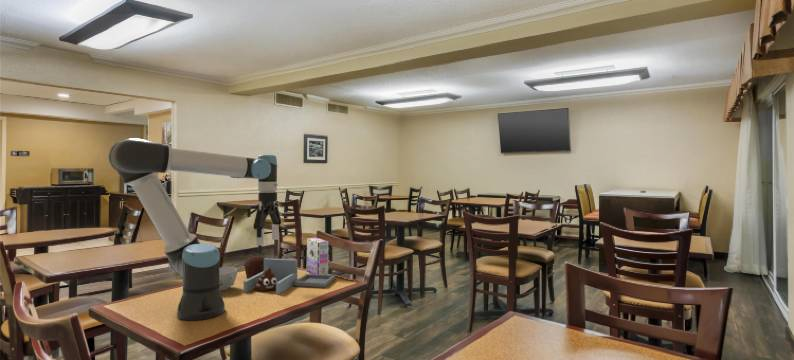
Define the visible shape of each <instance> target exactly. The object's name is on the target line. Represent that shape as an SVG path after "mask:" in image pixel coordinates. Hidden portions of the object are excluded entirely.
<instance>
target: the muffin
mask: <svg viewBox="0 0 794 360" xmlns="http://www.w3.org/2000/svg"><path fill="white" fill-rule="evenodd" d="M265 258H266V257H265V256H263V255H257V254H256V255H251V256H249V257H248V258H247V259H246V260H245V262H244V263H243V266H244V270H245V271H244V272H245V275H246V280H247V279H249V278H251V277H253V276H255V275H257V274H259V273H261V272H263V271H264V259H265Z"/></svg>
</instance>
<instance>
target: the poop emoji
mask: <svg viewBox="0 0 794 360" xmlns="http://www.w3.org/2000/svg"><path fill="white" fill-rule="evenodd" d="M271 272H272V271H271V268H270V267H269V268H267V269H266V270H265V271H264V272H263V274H262V275H261V276H260V278H259V279H258V283H257V284H256V286H255V288H254V289H255V290H256V291H257V292H262V293H263V292H269V291H276V283H277V282H278V281H277V279H276V278H275V275H274V274H273V273H271Z"/></svg>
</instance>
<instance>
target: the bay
mask: <svg viewBox="0 0 794 360" xmlns="http://www.w3.org/2000/svg"><path fill="white" fill-rule="evenodd" d="M269 267H270V268H271V271H272V272H271V273H273V274H274V275H275V278H276V279H277V281H278V282H277V283H276V290H275V294H276V295H280V294H282V293H283V292H285V291H286V290H287V289H289V288H291V287H292V286H294V281H296V280H297V279H298V259H290V258H289V259H287V258H266V257H265V259H264V271H265V270H266V269H267V268H269ZM264 271H263V272H264ZM263 272H261V273H259V274H257V275H255V276H253V277H251V278H249V279H247V278H246V279H245V280H243V293H248V292H249V291H251V290H253V289H255V286H256V284H257V283H258V279H259V278H260V276H261V275H262V274H263Z"/></svg>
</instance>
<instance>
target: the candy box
mask: <svg viewBox="0 0 794 360" xmlns="http://www.w3.org/2000/svg"><path fill="white" fill-rule="evenodd" d="M329 243H330V241H328V240H325V239H322V238H318V237H313V238H312V237H311V238H306V272H308V273H309V274H319V275H330V274H329V269H330V267H329V265H330V263H329V261H330V260H329V259H330V258H329V256H330V255H329V253H330V244H329Z"/></svg>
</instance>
